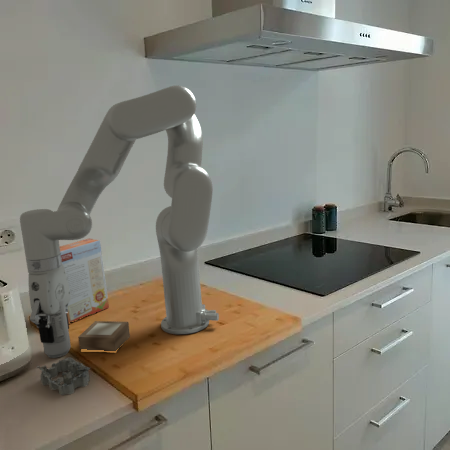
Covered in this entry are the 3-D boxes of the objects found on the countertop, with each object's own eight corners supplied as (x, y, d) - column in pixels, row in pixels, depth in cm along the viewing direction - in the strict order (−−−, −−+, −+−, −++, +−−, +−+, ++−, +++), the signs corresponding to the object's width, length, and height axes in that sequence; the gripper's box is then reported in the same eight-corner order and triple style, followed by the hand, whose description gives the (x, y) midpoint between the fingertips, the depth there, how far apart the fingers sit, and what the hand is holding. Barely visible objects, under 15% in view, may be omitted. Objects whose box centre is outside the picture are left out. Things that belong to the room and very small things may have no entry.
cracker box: (97, 304, 144) (88, 237, 140) (109, 308, 140) (101, 239, 136) (56, 320, 134) (45, 249, 129) (68, 325, 130) (57, 251, 126)
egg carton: (37, 383, 102) (34, 365, 101) (69, 368, 107) (66, 351, 106) (62, 400, 94) (59, 381, 94) (95, 383, 100) (92, 365, 99)
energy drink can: (74, 346, 117) (66, 288, 114) (66, 358, 111) (57, 297, 108) (50, 347, 117) (41, 290, 114) (40, 359, 111) (31, 299, 108)
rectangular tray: (130, 336, 120) (128, 321, 120) (115, 353, 112) (113, 337, 111) (97, 335, 122) (95, 320, 121) (80, 352, 114) (78, 336, 113)
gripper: (38, 275, 100) (50, 353, 104) (77, 252, 117) (86, 320, 121) (6, 275, 102) (19, 352, 106) (49, 253, 118) (59, 320, 122)
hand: (55, 335), depth 113 cm, fingers closed on energy drink can, 6 cm apart
